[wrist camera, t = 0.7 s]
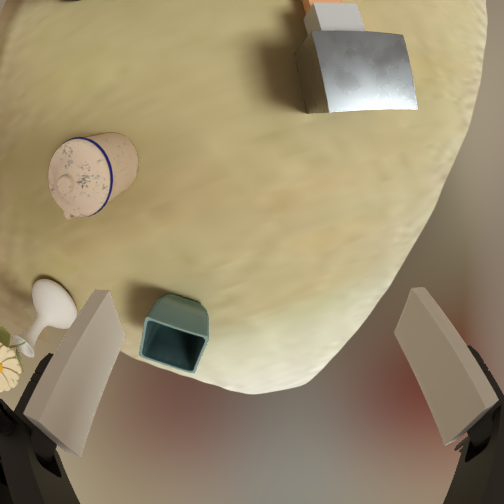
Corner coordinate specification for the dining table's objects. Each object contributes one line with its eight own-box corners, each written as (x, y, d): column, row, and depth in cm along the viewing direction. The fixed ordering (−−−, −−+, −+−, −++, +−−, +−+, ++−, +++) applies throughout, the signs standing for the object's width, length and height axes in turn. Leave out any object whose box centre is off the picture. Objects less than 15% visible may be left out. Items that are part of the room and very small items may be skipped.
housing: (294, 54, 26) (311, 30, 17) (365, 51, 26) (403, 35, 17) (307, 113, 30) (329, 112, 21) (376, 108, 29) (417, 109, 20)
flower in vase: (87, 326, 46) (34, 428, 24) (46, 316, 45) (-9, 402, 23) (71, 270, 40) (-10, 376, 18) (29, 263, 39) (-49, 349, 17)
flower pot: (162, 278, 41) (144, 317, 33) (216, 296, 42) (209, 338, 34) (153, 318, 44) (138, 356, 36) (201, 334, 46) (194, 374, 38)
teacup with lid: (106, 117, 29) (53, 124, 19) (154, 156, 32) (113, 176, 22) (68, 186, 33) (18, 214, 23) (109, 222, 36) (68, 261, 26)
